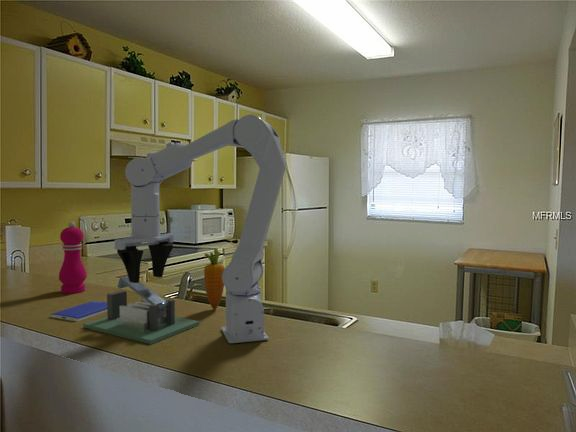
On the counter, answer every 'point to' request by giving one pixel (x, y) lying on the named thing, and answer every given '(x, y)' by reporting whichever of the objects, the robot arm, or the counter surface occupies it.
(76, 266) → the pepper mill
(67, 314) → the hard drive
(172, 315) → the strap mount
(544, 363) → the counter surface
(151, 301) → the metal bar
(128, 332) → the motherboard
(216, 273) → the carrot
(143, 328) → the heat sink
